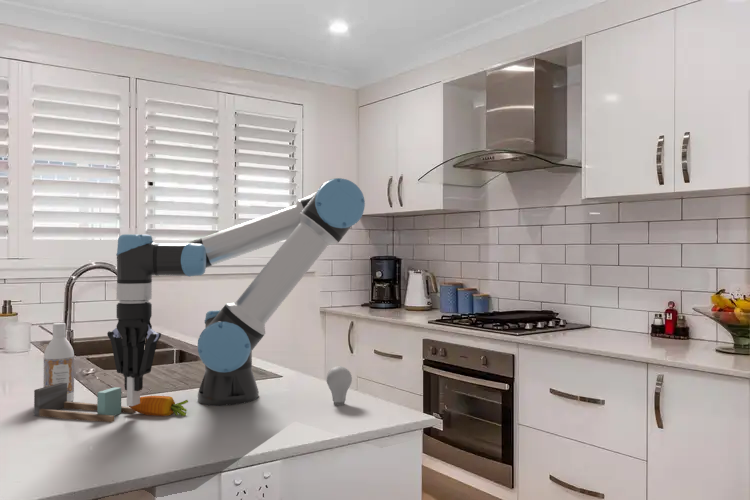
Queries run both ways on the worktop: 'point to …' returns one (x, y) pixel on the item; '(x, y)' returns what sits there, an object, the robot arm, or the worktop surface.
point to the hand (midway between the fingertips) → (133, 404)
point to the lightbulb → (339, 384)
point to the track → (66, 405)
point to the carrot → (159, 406)
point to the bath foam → (59, 361)
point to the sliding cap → (109, 401)
